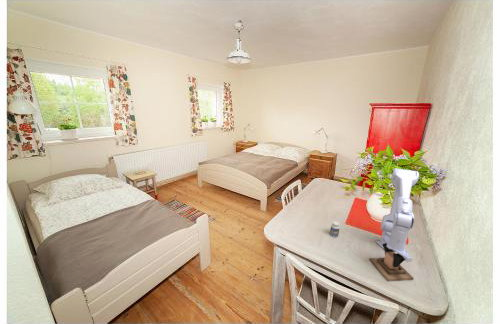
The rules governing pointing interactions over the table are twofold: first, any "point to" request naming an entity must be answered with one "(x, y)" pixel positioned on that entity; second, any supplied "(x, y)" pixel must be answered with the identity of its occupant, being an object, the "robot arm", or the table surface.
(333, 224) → the pill bottle
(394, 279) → the display stand
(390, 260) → the terracotta block
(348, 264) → the table surface
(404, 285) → the table surface
